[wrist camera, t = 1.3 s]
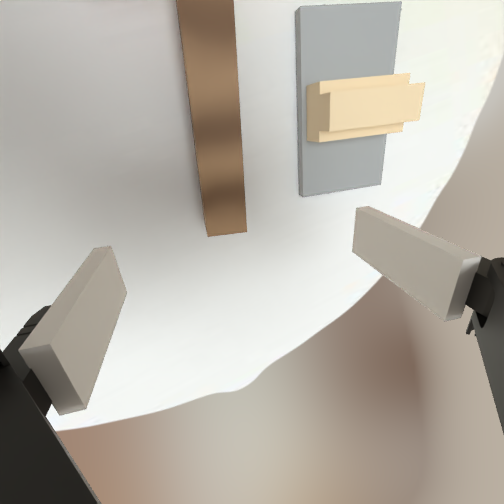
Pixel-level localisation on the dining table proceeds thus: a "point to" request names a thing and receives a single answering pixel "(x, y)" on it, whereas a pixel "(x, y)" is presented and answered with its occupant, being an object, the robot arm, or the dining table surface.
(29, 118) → the dining table surface
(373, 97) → the fulcrum
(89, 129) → the dining table surface
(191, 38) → the bar
